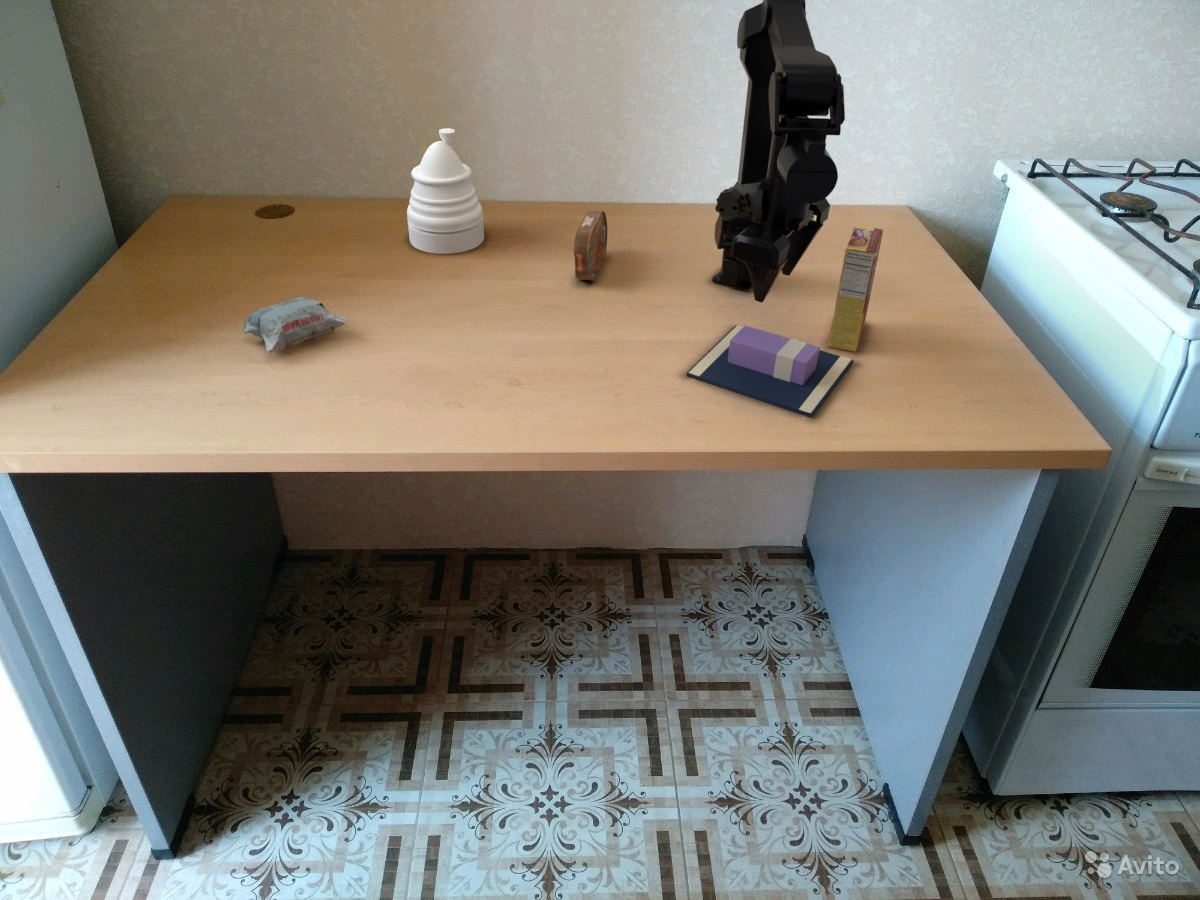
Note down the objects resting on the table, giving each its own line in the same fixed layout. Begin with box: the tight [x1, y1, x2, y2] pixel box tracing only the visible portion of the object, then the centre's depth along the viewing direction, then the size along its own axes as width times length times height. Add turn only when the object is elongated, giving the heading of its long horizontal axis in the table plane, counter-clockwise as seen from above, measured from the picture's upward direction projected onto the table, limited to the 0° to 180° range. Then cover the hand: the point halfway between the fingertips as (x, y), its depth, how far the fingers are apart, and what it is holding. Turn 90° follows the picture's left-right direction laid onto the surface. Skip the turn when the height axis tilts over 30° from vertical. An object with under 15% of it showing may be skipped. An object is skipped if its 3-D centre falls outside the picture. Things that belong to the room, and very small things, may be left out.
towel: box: [686, 324, 854, 419], centre depth 122 cm, size 16×18×1 cm
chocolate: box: [728, 325, 821, 385], centre depth 121 cm, size 5×11×4 cm, turn 59°
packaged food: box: [242, 295, 348, 354], centre depth 124 cm, size 9×12×5 cm
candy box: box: [827, 225, 884, 353], centre depth 126 cm, size 9×4×15 cm, turn 158°
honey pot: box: [406, 127, 485, 255], centre depth 149 cm, size 13×13×18 cm
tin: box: [573, 210, 608, 282], centre depth 144 cm, size 15×3×8 cm, turn 168°
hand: (772, 287), depth 117 cm, fingers open, 9 cm apart
